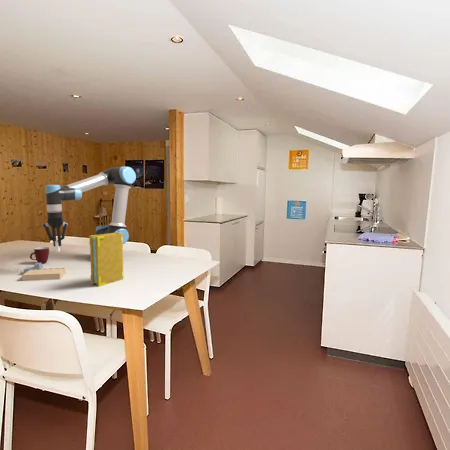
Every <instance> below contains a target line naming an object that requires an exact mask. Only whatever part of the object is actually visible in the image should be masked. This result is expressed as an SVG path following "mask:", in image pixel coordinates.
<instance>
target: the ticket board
mask: <svg viewBox="0 0 450 450" xmlns="http://www.w3.org/2000/svg"><path fill="white" fill-rule="evenodd" d="M66 274H67V269H66V268H65V267H60V268H58V267H56V268H43V269H31V270H29V271H28V272H26V273H25V274H24V273H23V274H22V275H21V281H22V282H25V281H44V280H45V281H47V280H48V281H49V280H50V281H51V280H60V279H62V278H63V277H64V276H65V275H66Z"/></svg>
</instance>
